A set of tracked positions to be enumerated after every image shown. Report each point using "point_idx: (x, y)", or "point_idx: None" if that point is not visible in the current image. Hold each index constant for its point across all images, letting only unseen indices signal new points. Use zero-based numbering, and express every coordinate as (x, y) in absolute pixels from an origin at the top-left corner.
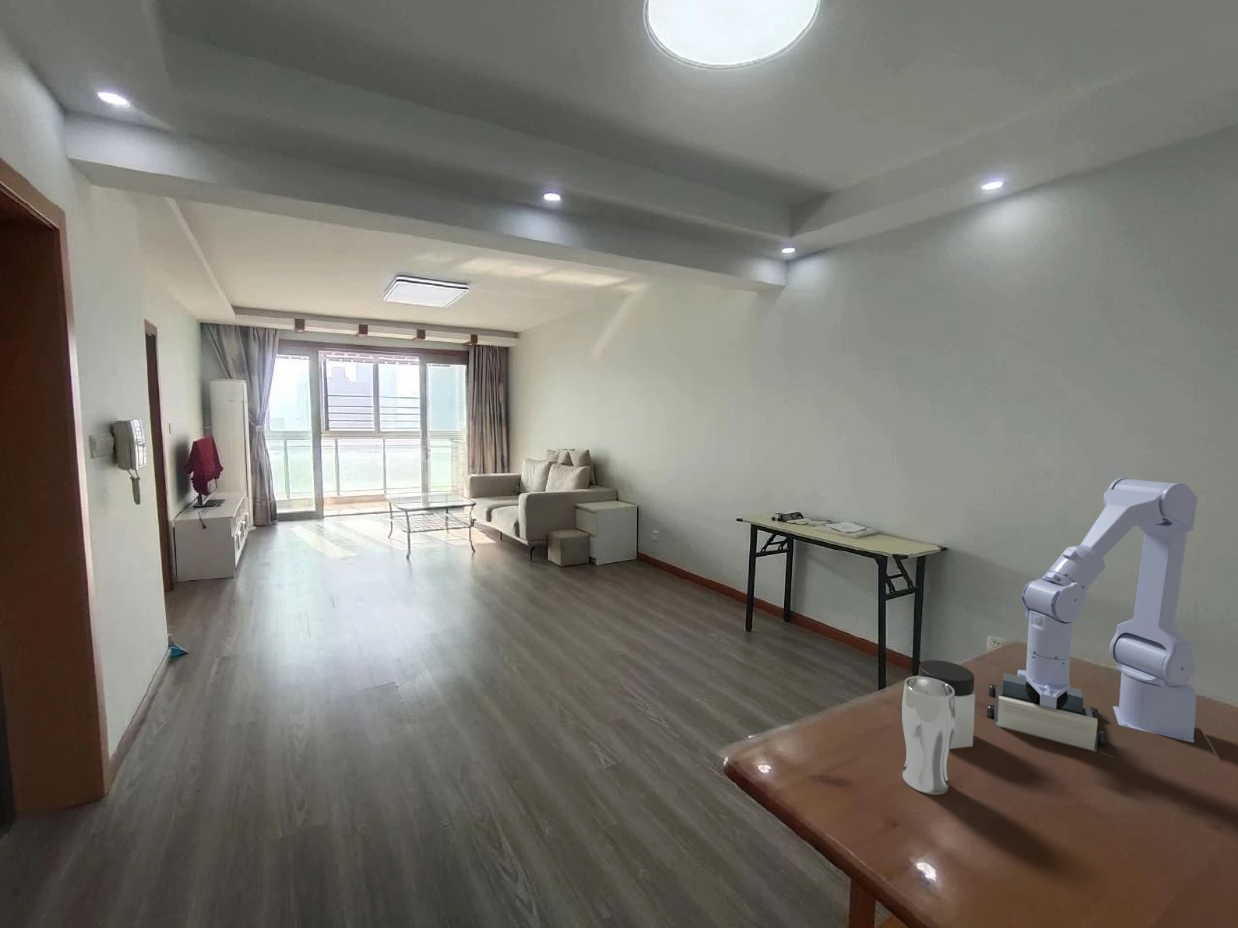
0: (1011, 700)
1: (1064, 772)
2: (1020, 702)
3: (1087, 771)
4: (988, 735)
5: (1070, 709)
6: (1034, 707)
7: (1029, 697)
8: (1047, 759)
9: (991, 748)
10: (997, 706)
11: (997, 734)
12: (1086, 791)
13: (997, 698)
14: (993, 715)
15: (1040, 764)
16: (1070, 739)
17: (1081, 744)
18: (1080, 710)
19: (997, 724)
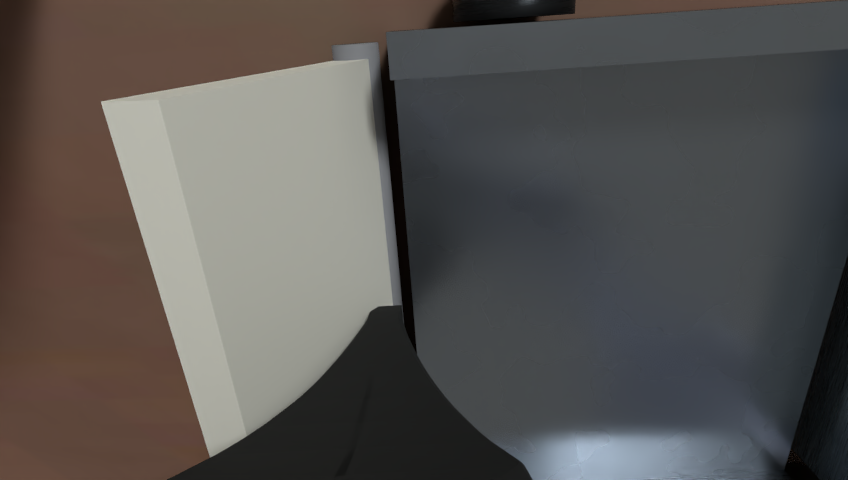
0: (162, 249)
1: (98, 389)
2: (188, 334)
3: (199, 457)
4: (192, 12)
5: (824, 427)
6: (207, 435)
7: (191, 468)
8: (167, 327)
9: (12, 51)
10: (491, 47)
11: (260, 68)
12: (4, 455)
13: (684, 30)
14: (453, 19)
15: (77, 302)
16: None
17: None
18: (819, 469)
19: (330, 61)
